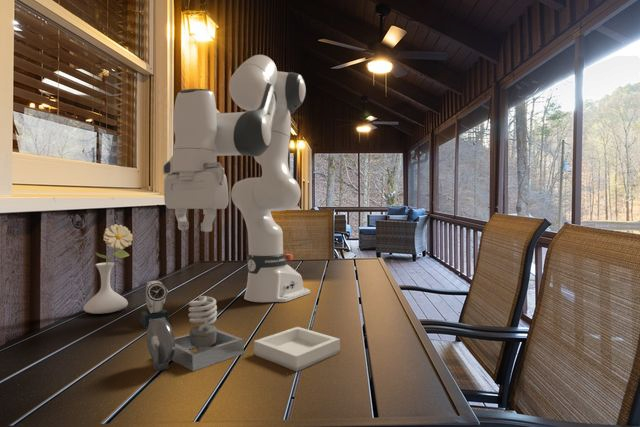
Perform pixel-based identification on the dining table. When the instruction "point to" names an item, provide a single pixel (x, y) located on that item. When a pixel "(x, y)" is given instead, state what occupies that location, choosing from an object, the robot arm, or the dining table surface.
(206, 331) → the light bulb
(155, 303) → the watch
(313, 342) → the tray
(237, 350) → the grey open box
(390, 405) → the dining table surface
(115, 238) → the flower in vase
